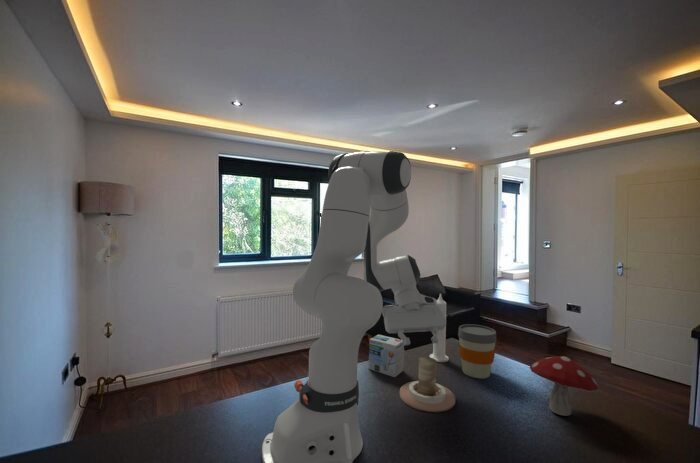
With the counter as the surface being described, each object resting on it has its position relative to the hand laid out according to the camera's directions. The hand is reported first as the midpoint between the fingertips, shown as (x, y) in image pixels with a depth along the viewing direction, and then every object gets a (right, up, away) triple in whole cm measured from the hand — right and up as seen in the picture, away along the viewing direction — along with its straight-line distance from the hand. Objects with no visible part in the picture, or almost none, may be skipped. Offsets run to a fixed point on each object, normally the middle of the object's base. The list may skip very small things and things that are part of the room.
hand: (421, 343), depth 99 cm
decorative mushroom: (+36, -15, -10) cm, 41 cm away
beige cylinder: (+1, -14, -4) cm, 14 cm away
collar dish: (+1, -14, -4) cm, 15 cm away
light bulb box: (-10, -14, +14) cm, 22 cm away
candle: (+12, -14, +24) cm, 31 cm away
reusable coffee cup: (+22, -15, +13) cm, 29 cm away
